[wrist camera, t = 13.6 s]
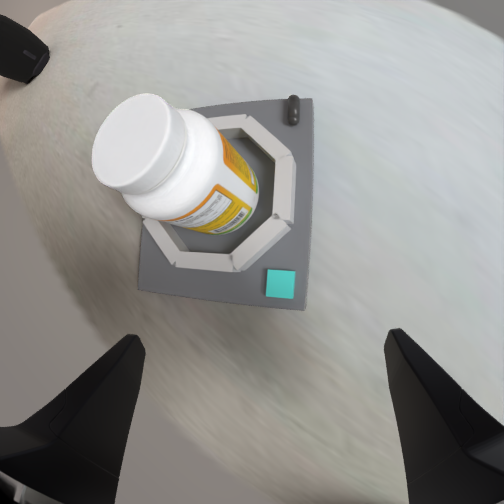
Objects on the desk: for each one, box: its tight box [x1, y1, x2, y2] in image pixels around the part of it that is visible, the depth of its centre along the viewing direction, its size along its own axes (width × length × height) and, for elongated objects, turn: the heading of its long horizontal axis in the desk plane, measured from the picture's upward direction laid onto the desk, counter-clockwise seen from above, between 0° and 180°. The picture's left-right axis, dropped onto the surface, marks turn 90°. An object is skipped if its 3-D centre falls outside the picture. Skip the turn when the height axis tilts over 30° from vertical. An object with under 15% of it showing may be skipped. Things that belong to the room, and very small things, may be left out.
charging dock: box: [138, 95, 314, 311], centre depth 19 cm, size 14×12×2 cm
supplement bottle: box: [92, 93, 259, 235], centre depth 14 cm, size 5×5×10 cm
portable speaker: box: [0, 15, 50, 84], centre depth 23 cm, size 9×9×20 cm
